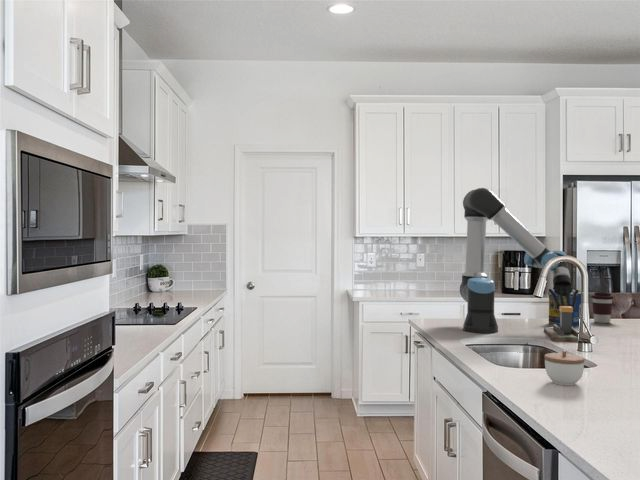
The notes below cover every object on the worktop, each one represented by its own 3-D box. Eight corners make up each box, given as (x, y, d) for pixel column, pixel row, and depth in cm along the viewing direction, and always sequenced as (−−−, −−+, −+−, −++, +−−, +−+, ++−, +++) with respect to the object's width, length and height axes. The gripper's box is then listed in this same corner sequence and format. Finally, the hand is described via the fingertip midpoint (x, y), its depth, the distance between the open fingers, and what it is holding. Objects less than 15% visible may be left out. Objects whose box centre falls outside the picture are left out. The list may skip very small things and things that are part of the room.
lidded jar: (564, 389, 161) (565, 355, 161) (536, 380, 171) (536, 348, 171) (592, 385, 165) (593, 353, 165) (563, 377, 175) (563, 346, 175)
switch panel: (552, 340, 236) (552, 332, 236) (544, 330, 261) (544, 323, 261) (589, 342, 233) (589, 333, 233) (577, 332, 258) (577, 324, 258)
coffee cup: (608, 320, 294) (608, 291, 294) (616, 323, 284) (616, 293, 284) (588, 320, 295) (588, 291, 295) (595, 323, 285) (595, 293, 285)
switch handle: (560, 333, 245) (561, 307, 245) (559, 331, 249) (559, 306, 249) (572, 333, 244) (572, 307, 244) (570, 331, 248) (570, 306, 248)
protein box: (548, 323, 283) (548, 292, 283) (567, 321, 292) (567, 290, 292) (567, 326, 275) (567, 294, 274) (586, 324, 283) (586, 292, 283)
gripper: (575, 284, 266) (582, 326, 251) (545, 284, 269) (550, 325, 254) (577, 274, 261) (585, 316, 245) (547, 273, 264) (552, 315, 248)
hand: (567, 321), depth 249 cm, fingers closed
